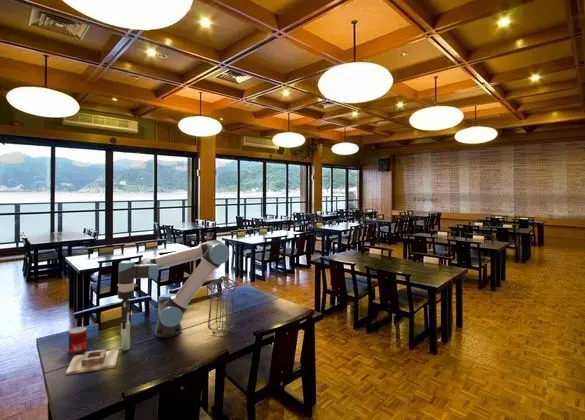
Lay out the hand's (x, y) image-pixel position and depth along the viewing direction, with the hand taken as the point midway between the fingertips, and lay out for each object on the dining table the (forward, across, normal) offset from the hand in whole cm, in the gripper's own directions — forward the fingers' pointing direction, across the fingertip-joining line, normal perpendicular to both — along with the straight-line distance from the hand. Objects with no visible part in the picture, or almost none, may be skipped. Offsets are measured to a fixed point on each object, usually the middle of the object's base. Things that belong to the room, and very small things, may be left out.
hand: (125, 329), depth 176 cm
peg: (+10, 0, 0) cm, 11 cm away
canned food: (+11, -6, -22) cm, 26 cm away
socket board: (+11, +11, -12) cm, 20 cm away
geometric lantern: (+10, -4, +52) cm, 54 cm away
